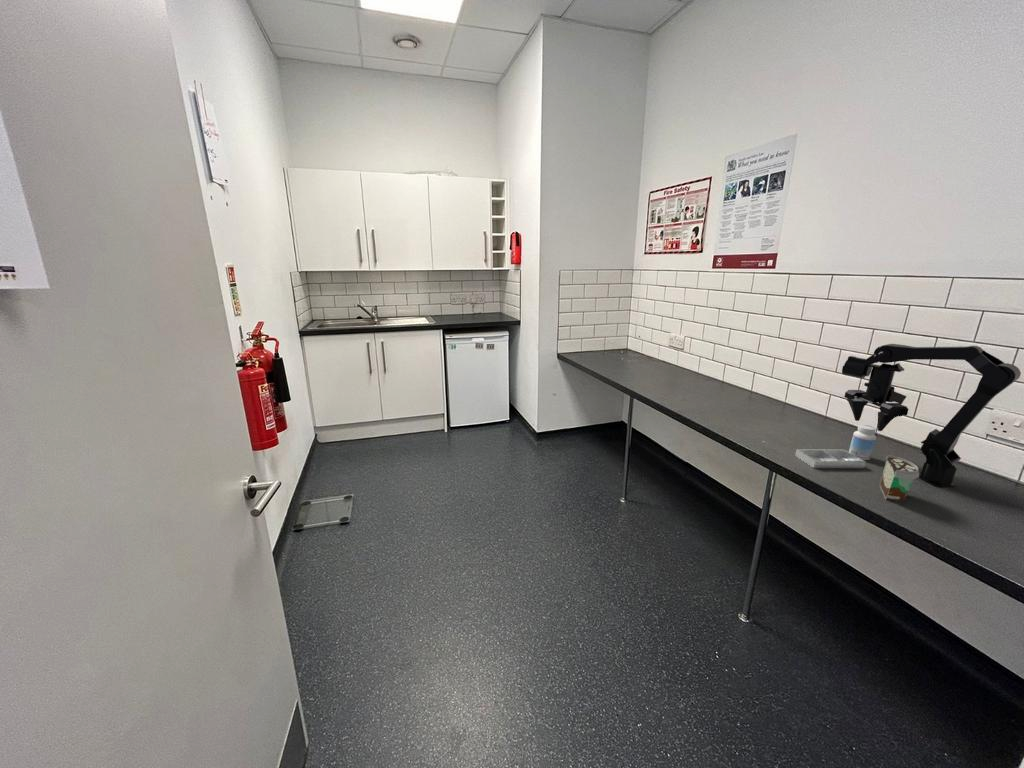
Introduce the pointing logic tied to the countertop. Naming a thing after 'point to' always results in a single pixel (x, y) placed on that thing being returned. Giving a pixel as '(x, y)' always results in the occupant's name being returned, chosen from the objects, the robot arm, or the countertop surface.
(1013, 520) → the countertop surface
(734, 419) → the countertop surface
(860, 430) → the pill bottle
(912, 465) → the food container
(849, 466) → the grey tray
